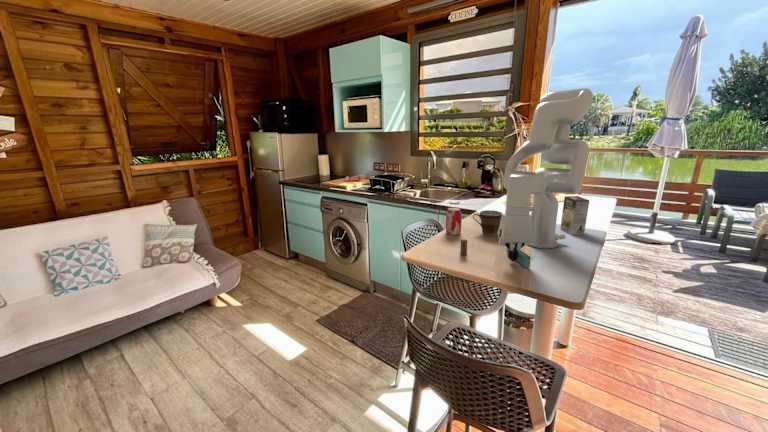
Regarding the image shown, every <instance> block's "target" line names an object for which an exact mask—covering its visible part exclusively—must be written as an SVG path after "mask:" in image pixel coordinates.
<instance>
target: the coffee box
mask: <svg viewBox="0 0 768 432" xmlns="http://www.w3.org/2000/svg"><path fill="white" fill-rule="evenodd" d="M589 204H590V200H589V199H587V198H584V197H581V196H578V195H569V196H564V199H563V206H562V207H563V208H562V216H561V222H560V228H559V229H560V230H561V231H563V232H565V233H566V234H568V235H571V236H576V235H577V236H578V235H579V236H582V234H584V235H585V230H586V226H587V225H586V224H587V218H588V212H589V211H588V210H589Z"/></svg>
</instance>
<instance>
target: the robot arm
mask: <svg viewBox="0 0 768 432" xmlns="http://www.w3.org/2000/svg"><path fill="white" fill-rule="evenodd" d="M593 101H594V95H593V92H592V91H591V89H590V88H577V89H566V90H557V91H551V92H547V93H545V94H543V95H542V96H541V97H540V100H539V104H538V105H537V106H536V107H535V110H534V113H533V118H532V121H531V123H530V124H531V125H530V127H529V132H528V134H527V135H528V136H527V139H526V141H525V143H524V144H523V145H521V146H520V147H519V148H518V149H517V150H516V151H515V152H514V153H513V154H512V155H511V157H509V159H508V161H507V164H506V168H505V171H504V175H503V179H502V184H503V188H504V189H505V190H506V200H505V212H502V213H503V214H502V217H501V221H500V226H499V230H498V234H497V235H498V236H497V237H498V244H499V245H500V246H503V247H506V249H507V248H508V249H509V250H508V253H507V258H508V259H509V260H510V262H518V261H517V258H518V253H519V251H520V250H521V249H522V248H523V247H525V246H530V247H533V248H537V249H543V250H544V249H549V250H550V249H555V248H557V247H558V246H559V242H558V241H559V240H565V239H566V235H565V234H559V233H556V226H557V219H558V218H557V217H558V211H559V210H558V209H559V201H558V199H557V197H556V195H555V194H564V195H576V194H578V193H579V192H580V191H581V189H582V187H583V183H584V178H585V174H586V170H587V165H588V160H589V154H590V148H589V144H588V143H587V142H586V141H585V140H583V139H582V140H581V139H570V134H571V129H572V128H571V126H573V125H576V124H578V123H579V122H580V121H581V120H582V119H583V118H584V117H585V115H586V114H587V113H588V112H589V111H590V109H591V107H592V105H593ZM538 154H540V160H541V162H542V163H543V164H546V165H552V166H569V167H570V168H561V167H560V168H559V167H540V168H538V169H536V170H534V171H526V170H525V171H524V170H518V169H519V167H520V165H521V164H522V163H523V162H525V161H526V160H527V159H529V158H530V157H533V156H535V155H538ZM513 243H515V245H514V247H513Z"/></svg>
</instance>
